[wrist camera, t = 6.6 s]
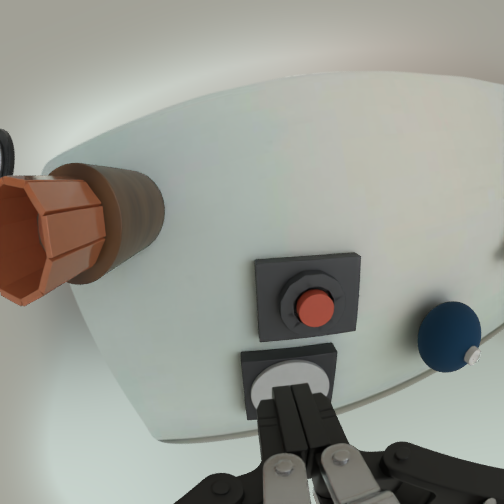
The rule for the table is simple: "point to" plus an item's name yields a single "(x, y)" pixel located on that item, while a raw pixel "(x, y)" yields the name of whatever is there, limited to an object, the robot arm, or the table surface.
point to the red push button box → (298, 282)
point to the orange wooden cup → (46, 234)
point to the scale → (286, 372)
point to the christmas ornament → (450, 337)
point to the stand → (119, 213)
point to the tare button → (315, 308)
